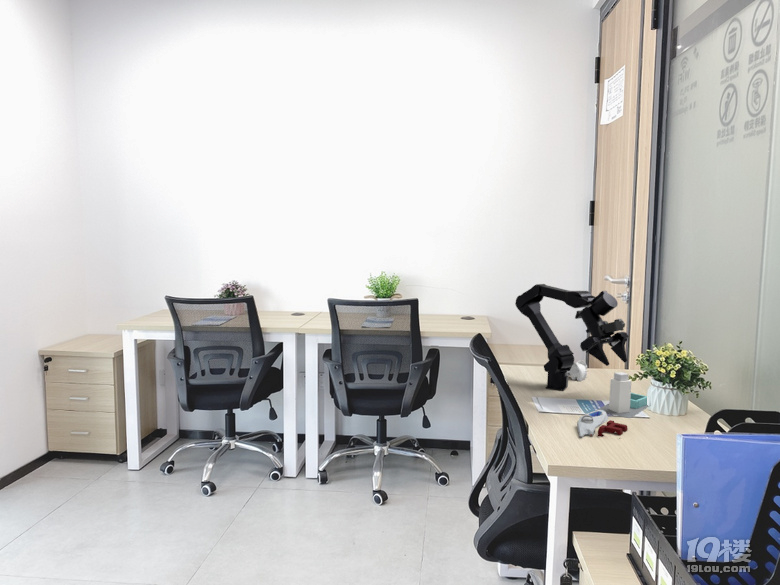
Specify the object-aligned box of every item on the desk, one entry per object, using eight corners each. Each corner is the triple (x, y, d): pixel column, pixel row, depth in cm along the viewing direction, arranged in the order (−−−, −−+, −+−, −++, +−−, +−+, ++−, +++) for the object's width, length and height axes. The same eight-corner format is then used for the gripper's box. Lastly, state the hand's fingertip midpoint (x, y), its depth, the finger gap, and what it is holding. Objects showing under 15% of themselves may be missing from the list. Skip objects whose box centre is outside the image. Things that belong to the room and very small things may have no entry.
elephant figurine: (568, 375, 247) (569, 357, 246) (591, 379, 241) (592, 361, 240) (559, 378, 241) (560, 360, 241) (583, 383, 235) (584, 364, 234)
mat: (630, 421, 191) (630, 418, 191) (595, 413, 198) (595, 410, 198) (653, 406, 207) (653, 403, 207) (620, 399, 214) (620, 396, 214)
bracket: (611, 419, 185) (598, 427, 177) (630, 423, 181) (618, 432, 174) (610, 428, 185) (597, 437, 178) (629, 432, 182) (617, 442, 174)
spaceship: (590, 415, 197) (591, 402, 196) (611, 420, 193) (612, 406, 193) (565, 436, 178) (566, 421, 177) (589, 441, 174) (590, 426, 173)
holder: (612, 402, 206) (613, 395, 206) (625, 398, 212) (626, 391, 211) (636, 408, 200) (636, 401, 200) (648, 404, 206) (649, 396, 205)
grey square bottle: (608, 409, 200) (610, 372, 198) (619, 407, 201) (621, 371, 200) (618, 413, 196) (620, 375, 194) (629, 411, 197) (631, 374, 196)
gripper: (592, 312, 202) (616, 354, 195) (628, 308, 212) (652, 348, 205) (569, 330, 210) (592, 371, 203) (605, 325, 220) (628, 364, 213)
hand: (617, 363), depth 206 cm, fingers open, 9 cm apart
